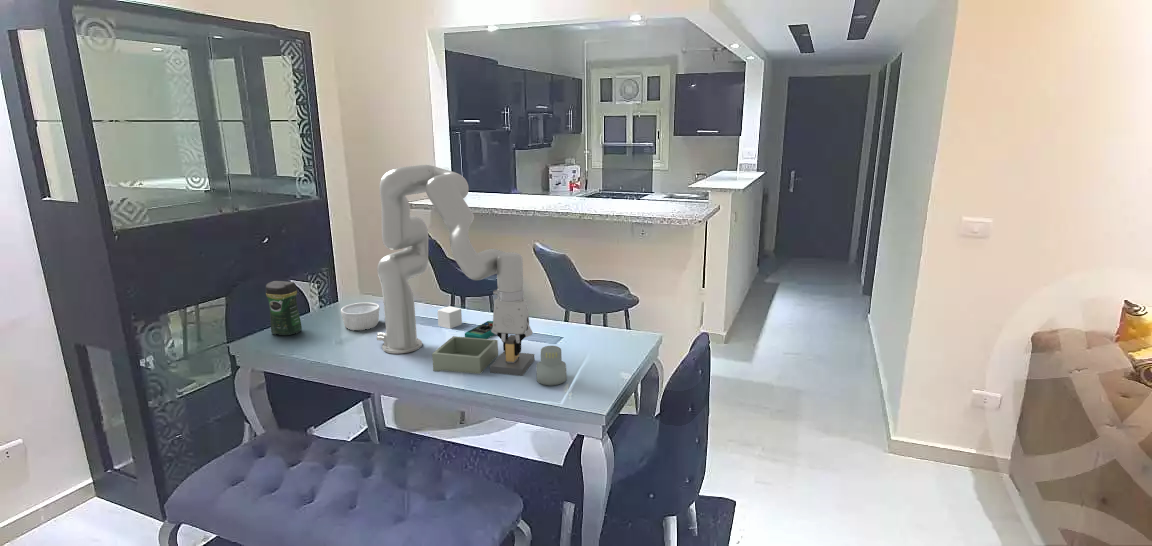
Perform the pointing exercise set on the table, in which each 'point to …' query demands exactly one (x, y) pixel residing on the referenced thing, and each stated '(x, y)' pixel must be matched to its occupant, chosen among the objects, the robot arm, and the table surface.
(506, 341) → the block
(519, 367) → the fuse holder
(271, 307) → the coffee jar
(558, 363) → the air freshener
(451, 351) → the parts tray
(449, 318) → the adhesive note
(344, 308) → the ramekin
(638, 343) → the table surface
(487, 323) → the digital multimeter
